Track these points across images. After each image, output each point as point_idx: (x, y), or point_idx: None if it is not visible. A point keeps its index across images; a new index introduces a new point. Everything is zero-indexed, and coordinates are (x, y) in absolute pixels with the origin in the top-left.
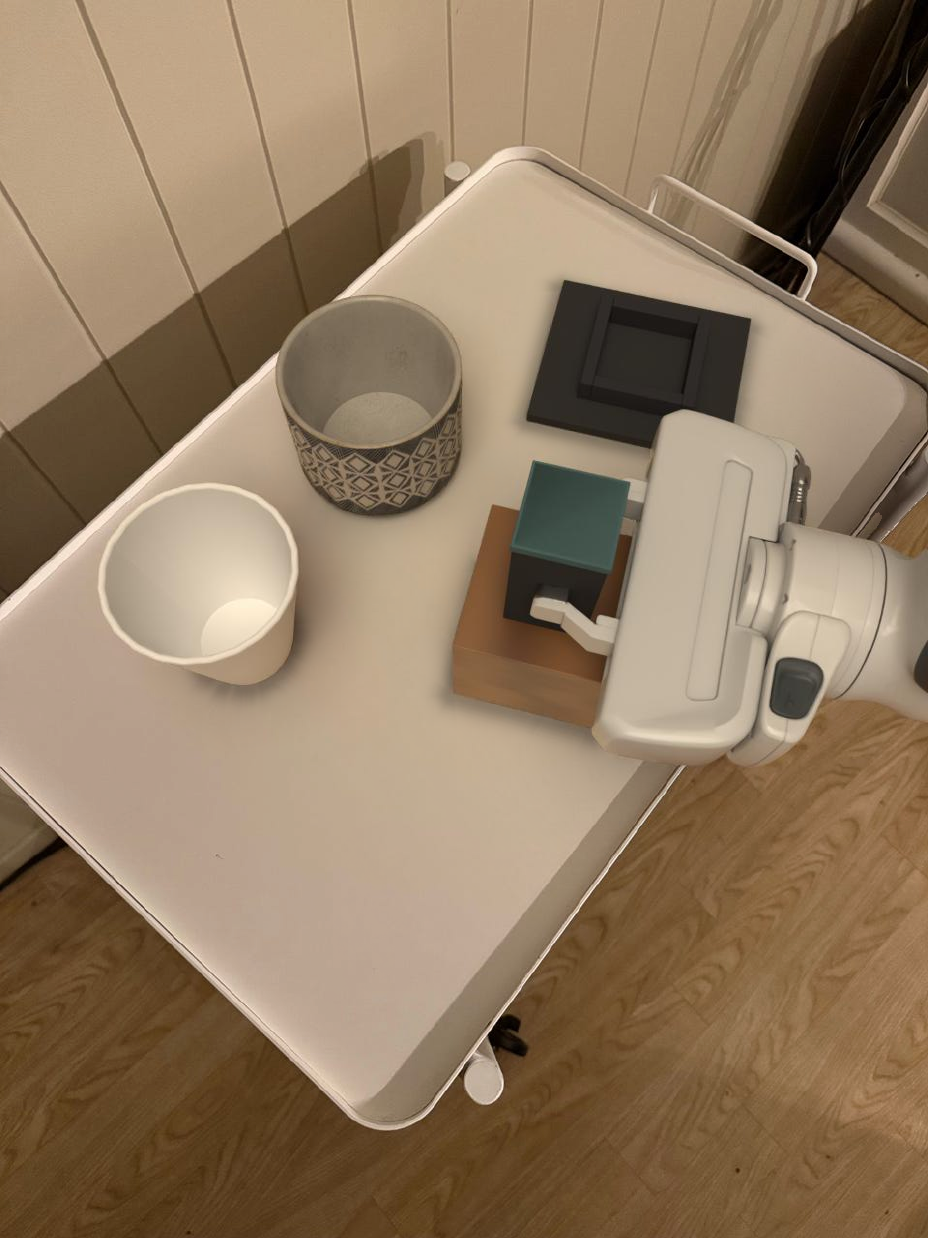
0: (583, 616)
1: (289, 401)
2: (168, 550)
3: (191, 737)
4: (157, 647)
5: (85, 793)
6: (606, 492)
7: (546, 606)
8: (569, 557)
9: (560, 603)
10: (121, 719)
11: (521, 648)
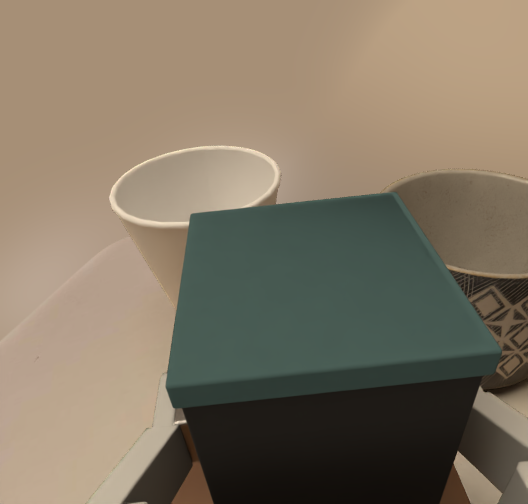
0: (142, 468)
1: (394, 189)
2: (235, 199)
3: (135, 309)
4: (152, 216)
5: (90, 276)
6: (417, 308)
7: (161, 390)
8: (185, 291)
9: (172, 413)
10: (144, 272)
11: (195, 482)
